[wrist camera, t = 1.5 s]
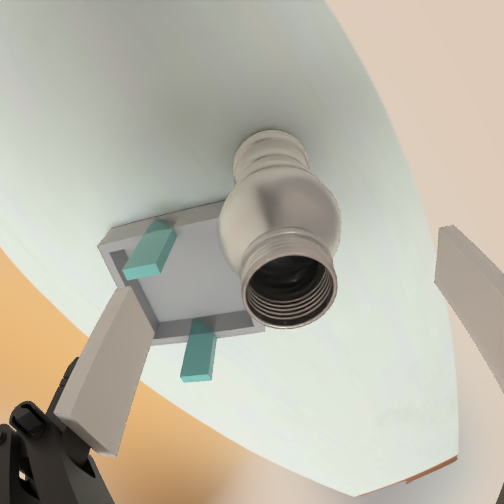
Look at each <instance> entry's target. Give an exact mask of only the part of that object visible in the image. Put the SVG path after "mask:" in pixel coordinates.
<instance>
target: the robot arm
mask: <svg viewBox="0 0 504 504" xmlns="http://www.w3.org/2000/svg"><path fill="white" fill-rule="evenodd" d="M434 283H435V284H436V285H437V287H438V288H439V290H440V291H441V292H442V294H443V295H444V297H445V298H446V300H447V301H448V302H449V304H450V305H451V307H452V308H453V310H454V311H455V313H456V314H457V315H458V317H459V319H460V320H461V322H462V323H463V325H464V326H465V328H466V330H467V331H468V333H469V334H470V336H471V338H472V339H473V340H474V342H475V344H476V346H477V347H478V349H479V351H480V352H481V354H482V356H483V357H484V359H485V361H486V362H487V364H488V366H489V368H490V369H491V371H492V373H493V374H494V377H495V378H496V380H497V382H498V384H499V386H500V388H501V389H502V391H503V393H504V274H503V273H502V272H501V271H500V270H499V268H498V267H497V266H496V265H495V264H494V263H493V262H492V261H491V260H490V259H489V258H488V257H487V256H486V255H485V254H484V253H483V252H482V251H481V250H480V249H479V248H478V247H477V246H476V245H475V244H474V243H473V242H471V241H470V240H469V239H468V238H467V237H466V236H465V235H464V234H463V233H462V232H461V231H460V230H459V229H457V228H456V227H455V226H454V225H451V226H446V227H441V228H439V238H438V250H437V261H436V271H435V280H434ZM154 334H155V332H154V330H153V329H152V327H151V325H150V323H149V321H148V319H147V317H146V315H145V313H144V311H143V310H142V308H141V306H140V304H139V302H138V300H137V298H136V296H135V294H134V292H133V290H132V288H131V286H129V287H123V288H117V289H116V290H115V292H114V294H113V295H112V297H111V299H110V301H109V302H108V304H107V306H106V308H105V310H104V311H103V313H102V315H101V317H100V319H99V320H98V322H97V324H96V326H95V328H94V330H93V332H92V334H91V335H90V337H89V339H88V341H87V343H86V345H85V347H84V349H83V351H82V353H81V355H80V357H76V358H75V359H74V361H73V362H72V363H71V364H70V365H69V366H68V368H67V370H66V372H65V374H64V376H63V377H64V379H62V380H61V382H60V387H58V389H57V391H56V393H55V395H54V397H53V400H52V401H51V404H50V406H49V408H48V410H47V412H46V414H44V413H43V412H42V411H41V410H40V409H39V408H38V407H37V406H36V405H35V404H34V403H33V402H31V401H25V402H22V403H20V404H19V405H18V406H17V407H15V409H14V410H13V412H12V413H11V416H10V421H9V423H10V425H11V426H12V427H13V428H15V429H16V430H17V431H16V432H15V431H14V430H13V429H12V428H11V427H10V426H9V425H7V424H1V425H0V504H115V503H114V501H113V499H112V497H111V495H110V493H109V492H108V490H107V487H106V485H105V483H104V481H103V479H102V477H101V475H100V473H99V471H98V469H97V466H96V464H95V462H94V460H93V458H92V457H91V455H89V451H90V448H92V449H93V450H94V451H95V452H97V453H98V454H99V455H103V456H110V457H117V454H118V451H119V447H120V443H121V440H122V436H123V433H124V429H125V426H126V422H127V418H128V415H129V412H130V408H131V405H132V402H133V399H134V395H135V392H136V389H137V385H138V382H139V379H140V376H141V373H142V370H143V367H144V364H145V361H146V358H147V355H148V352H149V349H150V346H151V343H152V340H153V337H154ZM19 471H21V472H22V473H23V474H25V480H23V479H21V478H20V477H19ZM496 504H504V484H503V486H502V489H501V492H500V495H499V497H498V500H497V502H496Z"/></svg>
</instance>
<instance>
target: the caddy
mask: <svg viewBox="0 0 504 504" xmlns="http://www.w3.org/2000/svg"><path fill="white" fill-rule="evenodd" d="M224 202H225V201H221V202H216V203H212V204H207V205H203V206H198V207H194V208H190V209H186V210H181V211H177V212H173V213H169V214H165V215H161V216H157V217H153V218H149V219H145V220H141V221H137V222H133V223H129V224H125V225H122V226H118V227H114V228H112V229H111V230H110V231H109V232H108V233H107V235H106V236H105V237H104V238H103V239H102V241H101V242H100V243H99V244H98V246H97V247H98V249H99V251H100V253H101V255H102V257H103V259H104V261H105V264H106V266H107V268H108V270H109V272H110V274H111V276H112V278H113V280H114V282H115V284H116V286H117V288H123V287H129V286H131V288H132V290H133V292H134V294H135V296H136V298H137V300H138V302H139V304H140V306H141V308H142V310H143V311H144V313H145V315H146V317H147V319H148V321H149V323H150V325H151V327H152V329H153V330H154V332H155V334H154V337H153V340H152V343H151V346H154V345H164V344H174V343H183V342H187V346H186V351H185V355H184V360H183V365H182V369H181V374H180V377H181V379H182V381H183V382H198V381H210V380H212V372H213V364H214V356H215V348H216V340H217V338H224V337H231V336H238V335H245V334H252V333H258V332H265V325H263V324H261V323H259V322H257V321H256V320H255V319H253V318H252V317H251V316H250V315H249V314H248V312H247V310H246V309H245V307H244V304H243V301H242V297H241V282H240V277H239V276H237V275H236V274H235V273H234V272H233V271H232V269H231V268H230V267H229V266H228V264H227V262H226V260H225V259H224V256H223V254H222V251H221V248H220V245H219V242H218V235H217V226H218V218H219V215H220V212H221V210H222V207H223V205H224Z"/></svg>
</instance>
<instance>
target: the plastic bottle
mask: <svg viewBox="0 0 504 504" xmlns="http://www.w3.org/2000/svg"><path fill="white" fill-rule="evenodd" d="M233 177H234V181H235V184H236V185H235V187H234V188H233V189H232V191H231V192H230V194H229V195H228V197H227V199H226V200H225V202H224V205H223V207H222V210H221V212H220V215H219V218H218V226H217V235H218V242H219V245H220V248H221V251H222V254H223V256H224V259H225V260H226V262H227V264H228V266H229V267H230V268H231V269H232V271H233V272H234V273H235V274H236V275H237V276H239V277H240V282H241V297H242V301H243V304H244V307H245V309H246V310H247V312H248V314H249V315H250V316H251V317H252V318H253V319H255V320H256V321H257V322H259V323H261V324H263V325H265V326H268V327H272V328H276V329H293V328H298V327H302V326H305V325H307V324H310V323H312V322H313V321H315V320H317V319H318V318H320V317H321V316H322V315H324V314H325V312H326V311H327V310H328V309H329V308H330V306H331V305H332V303H333V302H334V299H335V297H336V293H337V276H336V273H335V270H334V268H333V259H332V258H333V257H334V255H335V253H336V251H337V248H338V245H339V241H340V233H341V214H340V210H339V207H338V204H337V201H336V199H335V198H334V196H333V195H332V193H331V191H330V190H329V189H328V188H327V187H326V186H325V185H324V184H323V183H322V182H321V181H320V180H319V179H318V178H317V177H315V176H314V175H313V174H311V173H310V172H309V160H308V155H307V153H306V150H305V148H304V147H303V145H302V144H301V142H300V141H299V140H298V139H296V138H295V137H294V136H292V135H291V134H289V133H286V132H283V131H279V130H265V131H261V132H258V133H256V134H254V135H252V136H250V137H249V138H248V139H246V140H245V141H244V142H243V143H242V144H241V145H240V147H239V148H238V150H237V152H236V154H235V157H234V160H233Z"/></svg>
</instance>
